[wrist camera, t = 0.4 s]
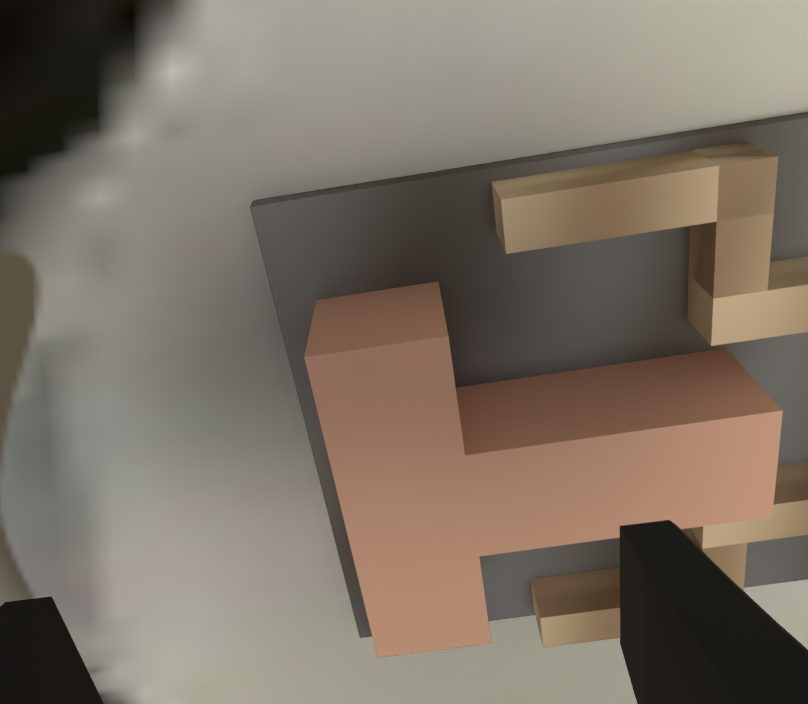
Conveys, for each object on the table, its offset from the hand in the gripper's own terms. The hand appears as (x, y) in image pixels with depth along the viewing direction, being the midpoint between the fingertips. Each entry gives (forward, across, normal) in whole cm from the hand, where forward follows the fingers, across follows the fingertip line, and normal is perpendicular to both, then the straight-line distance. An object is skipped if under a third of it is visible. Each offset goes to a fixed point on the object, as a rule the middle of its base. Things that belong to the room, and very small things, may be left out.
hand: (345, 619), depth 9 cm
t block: (+10, -3, +4) cm, 11 cm away
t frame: (+10, -8, +4) cm, 14 cm away
